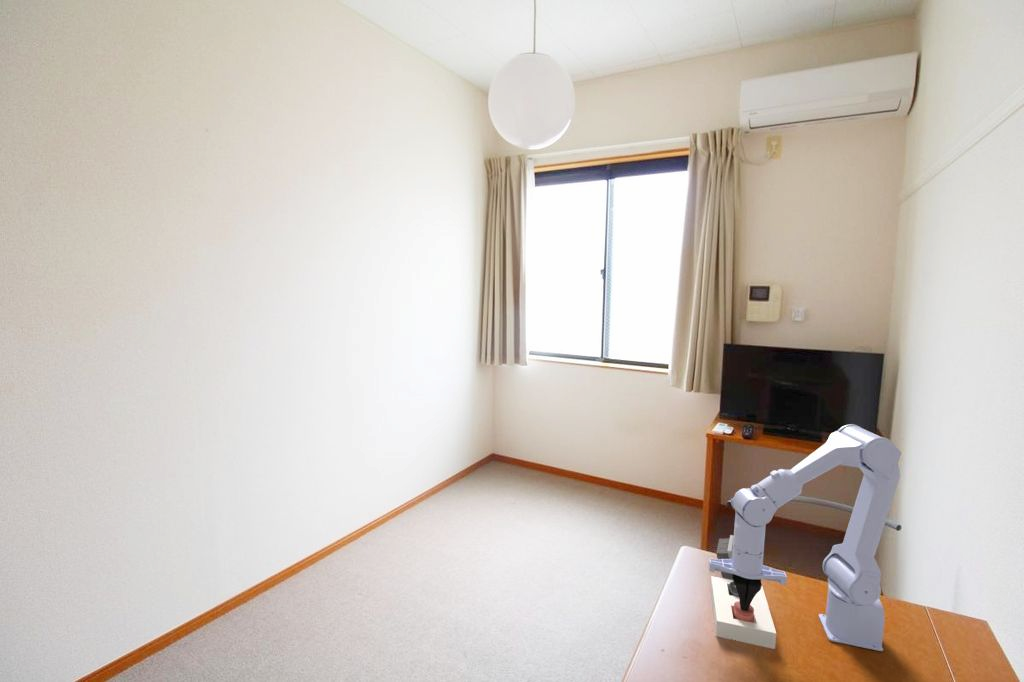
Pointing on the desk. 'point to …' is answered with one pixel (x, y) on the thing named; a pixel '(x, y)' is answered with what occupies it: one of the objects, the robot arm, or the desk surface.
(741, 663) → the desk surface
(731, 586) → the graphite plug
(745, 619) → the red plug
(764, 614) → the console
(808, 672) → the desk surface
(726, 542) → the electrical switch
